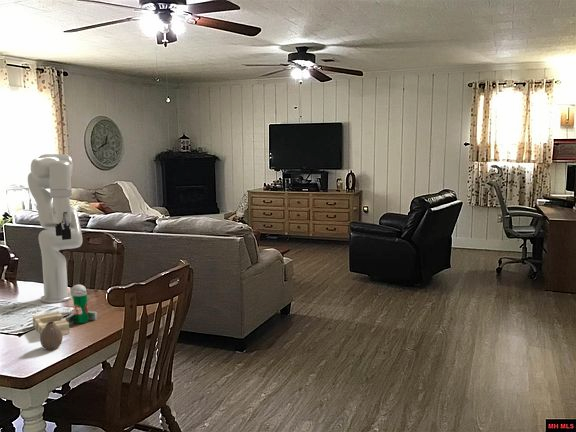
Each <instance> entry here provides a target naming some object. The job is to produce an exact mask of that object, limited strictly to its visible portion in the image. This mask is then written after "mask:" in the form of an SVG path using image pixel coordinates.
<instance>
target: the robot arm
mask: <svg viewBox="0 0 576 432" xmlns="http://www.w3.org/2000/svg"><path fill="white" fill-rule="evenodd" d="M73 170H74V163H73V160H72V157H71V156H70V155H69V154H65V153H64V154H63V153H58V154H57V153H47V154H46V153H45V154H42V155H40V156H38V158H33V159H32V160H31V163H30V173H28V175H27V185H28V189H29V192H30V193H31V196H32V197H33V199H34V201H35V203H36V209H37V214H38V221H39V224H40V226H41V227H42V229H43V230H41V231H40V232H39V234H38V243H39V248H40V253H41V261H42V262H41V264H42V265H41V266H42V277H43V278H42V279H43V280H42V281H43V294H44V295H42V296H41V297H40V301H41V302H42V303H45V304H46V303H48V304H57V303H61V302H66V301H69V300H71V299H73V298H72V296H71V294H70V292H69V289H68V272H67V270H68V269H67V260H66V257H65V255H63V253H61V252H60V251H61V250H68V249H69V250H71V249H77V248H80V247H81V246H82V244H83V233H82V228H81V223H80V219H79V214H78V211H77V209H76V208H75V207H72V206H71V201H70V198H72V196H73V195H72V194H73V193H72V175H73ZM48 190H49V191H48Z"/></svg>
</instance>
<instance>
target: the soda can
mask: <svg viewBox="0 0 576 432" xmlns="http://www.w3.org/2000/svg"><path fill="white" fill-rule="evenodd" d="M88 297H89V295H88V293H87V290H86V291H76V292H74V295H73V298H72V299H73V310H74V321H75V322H74V323H75V324H76V325H77V324H78V325H83V324H87V323H88V321H90V320H89V318H88V311H89V302H88V301H89V299H88Z"/></svg>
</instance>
